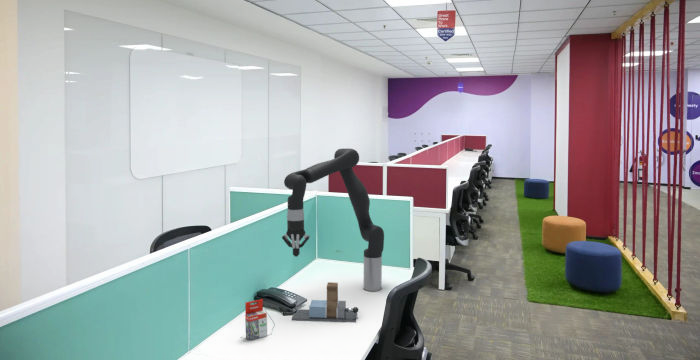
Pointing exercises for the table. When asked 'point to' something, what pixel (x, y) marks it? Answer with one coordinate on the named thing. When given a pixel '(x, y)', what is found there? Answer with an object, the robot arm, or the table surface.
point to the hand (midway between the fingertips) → (296, 256)
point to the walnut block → (332, 299)
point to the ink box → (255, 320)
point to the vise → (342, 316)
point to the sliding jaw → (318, 309)
